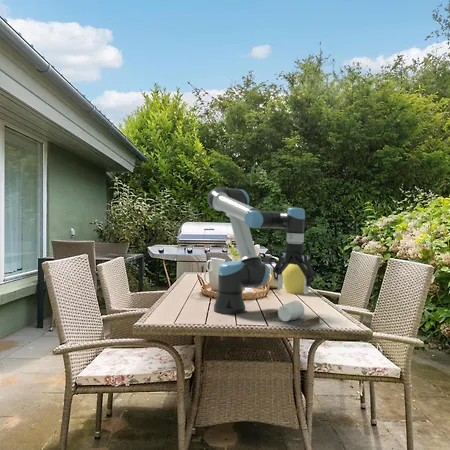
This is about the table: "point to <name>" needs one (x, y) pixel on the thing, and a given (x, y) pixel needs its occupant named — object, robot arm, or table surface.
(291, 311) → the white cup
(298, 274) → the vase
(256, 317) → the table surface
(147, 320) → the table surface
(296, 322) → the drying mat
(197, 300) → the table surface
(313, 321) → the mat rails
